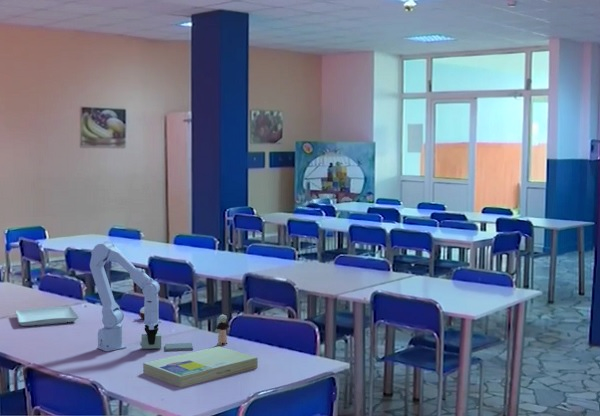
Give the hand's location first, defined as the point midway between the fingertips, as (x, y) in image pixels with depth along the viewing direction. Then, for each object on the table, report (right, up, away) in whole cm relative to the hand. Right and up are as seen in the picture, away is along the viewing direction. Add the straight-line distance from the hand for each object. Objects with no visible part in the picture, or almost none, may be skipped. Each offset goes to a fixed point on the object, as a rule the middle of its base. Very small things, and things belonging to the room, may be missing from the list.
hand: (151, 343), depth 308 cm
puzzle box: (+24, -5, -30) cm, 39 cm away
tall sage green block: (0, -2, 0) cm, 2 cm away
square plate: (-62, +1, +53) cm, 82 cm away
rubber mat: (+11, -2, +1) cm, 11 cm away
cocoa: (-13, +1, +56) cm, 57 cm away
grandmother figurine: (+29, -2, +9) cm, 30 cm away
